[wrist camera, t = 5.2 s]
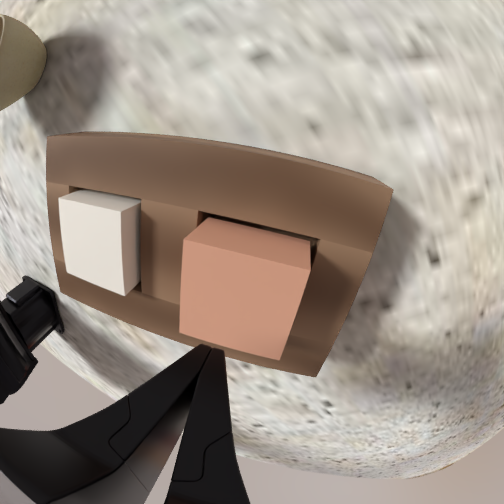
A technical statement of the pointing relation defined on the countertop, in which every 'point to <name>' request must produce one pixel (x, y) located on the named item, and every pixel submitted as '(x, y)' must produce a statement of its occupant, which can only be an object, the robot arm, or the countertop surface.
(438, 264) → the countertop surface
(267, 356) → the terracotta key
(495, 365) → the countertop surface
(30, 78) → the flower pot
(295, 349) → the key console
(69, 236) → the cream key
